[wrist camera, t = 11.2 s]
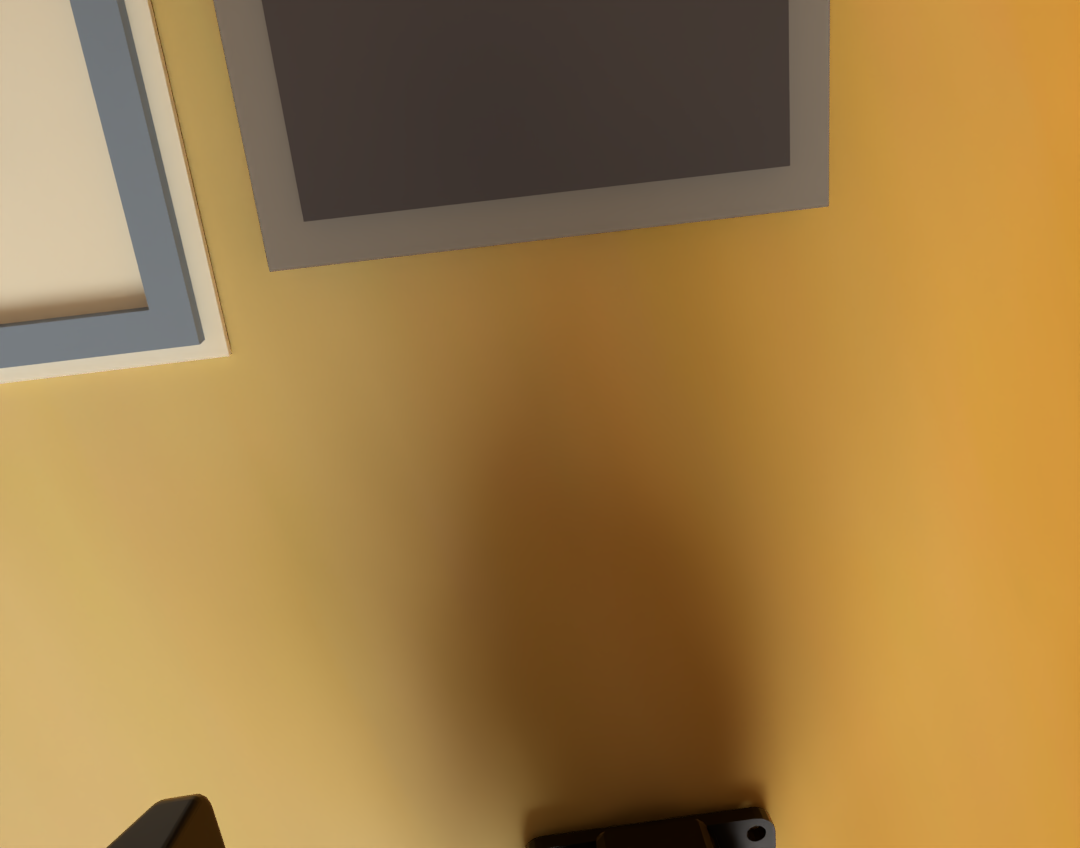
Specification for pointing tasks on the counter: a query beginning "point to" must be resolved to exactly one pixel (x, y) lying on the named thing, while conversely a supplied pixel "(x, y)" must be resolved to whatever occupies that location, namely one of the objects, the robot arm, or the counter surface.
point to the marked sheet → (96, 198)
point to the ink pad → (521, 118)
